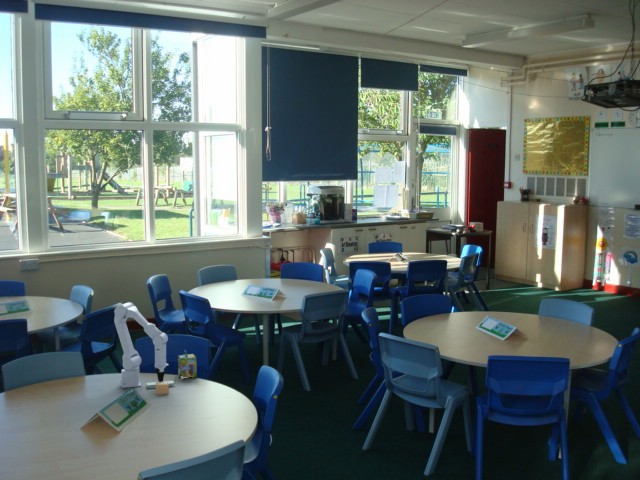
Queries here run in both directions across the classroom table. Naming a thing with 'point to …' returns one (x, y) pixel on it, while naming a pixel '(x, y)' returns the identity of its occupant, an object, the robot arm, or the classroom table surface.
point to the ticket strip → (152, 385)
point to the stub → (162, 388)
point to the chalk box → (187, 365)
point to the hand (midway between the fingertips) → (160, 381)
